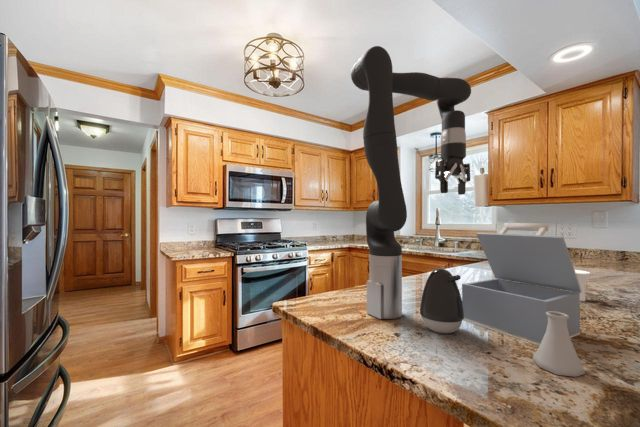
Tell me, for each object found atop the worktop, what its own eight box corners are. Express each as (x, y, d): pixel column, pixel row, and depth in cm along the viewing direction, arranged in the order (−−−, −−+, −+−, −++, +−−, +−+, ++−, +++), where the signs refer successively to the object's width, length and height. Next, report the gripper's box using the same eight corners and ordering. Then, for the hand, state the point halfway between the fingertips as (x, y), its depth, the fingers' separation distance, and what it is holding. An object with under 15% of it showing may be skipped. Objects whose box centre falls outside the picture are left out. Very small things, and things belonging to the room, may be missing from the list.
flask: (524, 359, 58) (523, 308, 58) (558, 357, 59) (558, 307, 59) (556, 379, 51) (556, 320, 51) (595, 377, 51) (594, 319, 52)
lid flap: (562, 237, 67) (572, 221, 69) (476, 233, 84) (487, 220, 87) (580, 292, 71) (590, 275, 74) (495, 278, 89) (505, 264, 91)
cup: (587, 298, 103) (587, 269, 104) (594, 304, 96) (593, 273, 96) (555, 294, 108) (554, 267, 108) (559, 300, 100) (558, 270, 101)
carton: (547, 347, 63) (546, 301, 63) (462, 320, 80) (462, 284, 81) (580, 333, 71) (579, 293, 71) (496, 311, 88) (495, 278, 88)
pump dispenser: (445, 341, 66) (444, 273, 67) (411, 326, 76) (410, 267, 76) (474, 333, 71) (473, 270, 71) (438, 320, 80) (438, 264, 80)
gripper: (448, 138, 90) (448, 191, 89) (477, 144, 96) (477, 194, 96) (428, 144, 96) (428, 193, 96) (457, 149, 103) (457, 195, 103)
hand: (453, 193), depth 96 cm, fingers open, 8 cm apart
